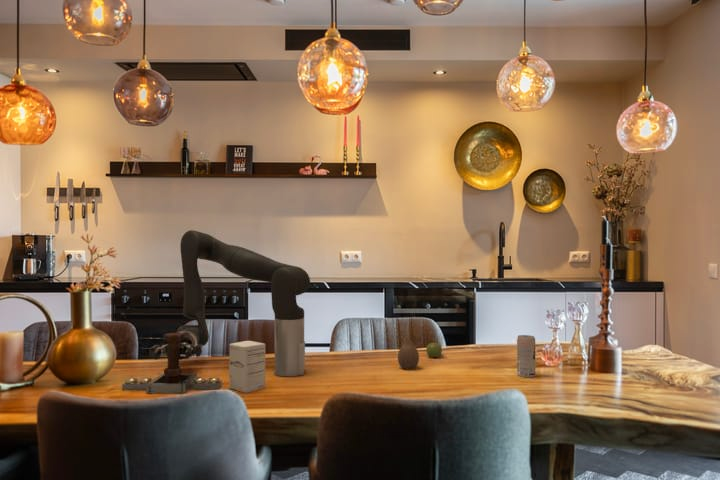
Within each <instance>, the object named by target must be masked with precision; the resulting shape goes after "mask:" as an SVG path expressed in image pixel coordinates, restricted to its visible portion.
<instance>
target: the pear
mask: <svg viewBox="0 0 720 480" xmlns="http://www.w3.org/2000/svg"><path fill="white" fill-rule="evenodd" d="M425 351H426V352H425V353H426V354H427V356H428V357H430V358H431V357H434V358H433V359H436V358H435V357H437V358H439V357H440V356H441V355H442V351H443V347H442V345H441V344H440V343H437V342H431V343H428V345H426V350H425Z"/></svg>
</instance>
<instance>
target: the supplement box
mask: <svg viewBox="0 0 720 480" xmlns="http://www.w3.org/2000/svg"><path fill="white" fill-rule="evenodd" d="M228 359H229V362H228V363H229V367H228V370H229V372H228V374H229V375H228V376H229V377H228V378H229V379H228V380H229V382H228V383H229V384H228V387H229V389H230V390H231V389H232V390H236V391H239V392H242V393H244V394H247V393H250V392H251V393H252V392H255V391H258V390H262V389H265V388H266V343H264V342H259V341H254V340H244V341H237V342H233V343H229V358H228Z"/></svg>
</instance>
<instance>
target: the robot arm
mask: <svg viewBox="0 0 720 480" xmlns="http://www.w3.org/2000/svg"><path fill="white" fill-rule="evenodd" d="M179 246H180V247H179V248H180V256H181V257H180V258H181V268H182V276H183V306H182V308H183V310H182V316H183V317H185V318H188V319H193V320H195V321H197V325H196V324H194V325H193V324H191V325H190V324H189V325H187V324H186V325H181V326H179V327H178V328H177V331H176V333H183V334H184V335H185V339H183V340H180V351H179V354H180V357H179V361H181V360H185V359H186V360H187V359H188V360H189V359H190V358H192V357H194V356H196V357H200V356H201V355H202V353H203V346H206V345H207V344H208V342H209V340H210V335H209V329H208V325H207V322H206V314H205V313H206V312H205V311H206V310H205V306H206V292H205V287H204V284H203V281H202V279H201V276H200V273H199V268H198V259H200V260H205V261H210V262H214V263H217V264H220V265H221V266H222V267H223V268H224V269H226V270H227V271H228V272H230V273H232V274H234V275H237V276H239V277H241V278H244V279H248V280H252V281H253V280H254V281H259V282H265V283H266V282H267V283H270V284H271V285H270V289H271V291H270V292H271V293H270V294H271V308H272V311H273V314H274V375H276V376H279V377H297V376H304V375H305V372H306V342H305V309H304V308H303V307H301V306H299V305H298V303H297V302H298V301H297V296H301V295H302V294H304V293H306V292H307V291H308V290H309V288H310V285H311V278H310V275H309V273H307V271H306V270H305V269H304V268H302V267H300V266H295V265H290V264H286V263H282V262H280V261H278V260H277V261H276V260H274V259H272V258H270V257H268V256H265V255H262V254H260V253H257V252H256V251H253V250H250V249H248V248H245V247H242V246H239V245H234V244H233V245H232V244H227V243H225V242H223V241H221V240H220V239H217V238H216V237H214V236H212V235H210V234H208V233H205V232H201V231H198V230H187V231H186V232H185V233H184V234H183V235H182V236H181V239H180V245H179ZM149 358H152V359H154V360H155V361H156V360H158V359H160V358H168V345H167V344H162V345H161V346H160V345H159V344H154V345H153V346H151V347H150V348H149Z"/></svg>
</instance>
